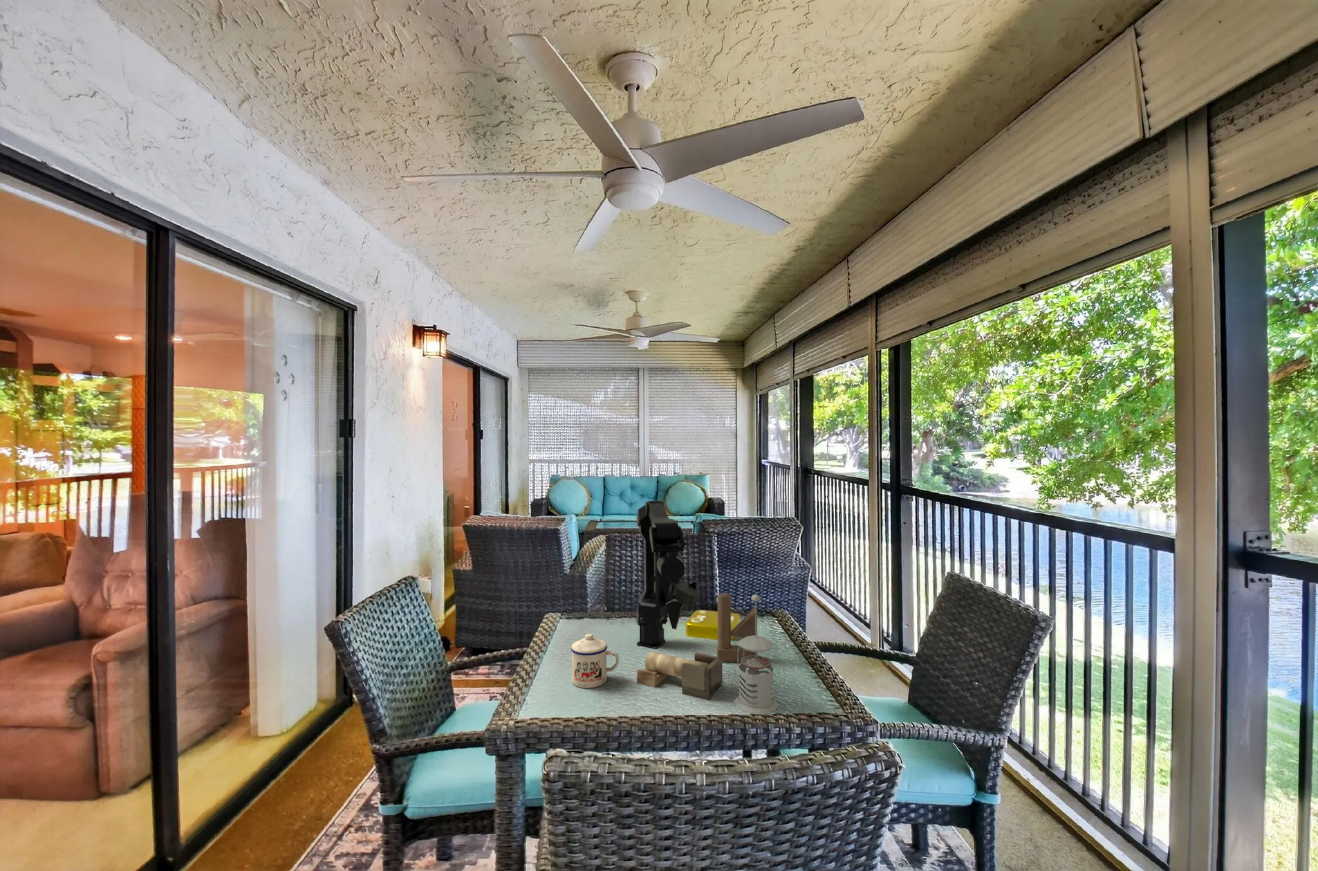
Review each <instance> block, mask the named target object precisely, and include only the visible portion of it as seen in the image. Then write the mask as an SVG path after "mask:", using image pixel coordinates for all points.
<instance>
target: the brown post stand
mask: <svg viewBox="0 0 1318 871" xmlns="http://www.w3.org/2000/svg"><path fill="white" fill-rule="evenodd" d="M731 602H732V596H731V594H729V593H727V592H726V593H725V592H722V593H719V594H717V612H718V640H717V646H716V656H717V657H722V663H738V661H737V652H738V648H739V645H737V644H732V640H731V636H735V637H742V639H743V638H745V637H747V636H753V635H755V607H754V608H753V609H752V610H751V611H750V612H749V613H747V615H746V616H745V617H744V618H742V620H740V623H739V624H738V625H737V626H736V627H735V628H734V629H733V630H732V631H731V613H732V608H731V607H732V604H731ZM756 636H758V611H757V609H756ZM743 650H744V649H743V648H741V647H740V648H739V652H738V660H739V663H741V662H740V659H742V658H743ZM750 655H752V656H753V655H755V652H752V651H748V650H747V651H745V650H744V657H745V656H750ZM756 656H758V652H756Z"/></svg>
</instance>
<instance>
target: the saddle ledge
mask: <svg viewBox="0 0 1318 871" xmlns="http://www.w3.org/2000/svg"><path fill="white" fill-rule="evenodd" d="M636 672H637V673H636V674H637V675H636V684H638V685H639V684H640V685H643V686H648V687H652V688H655V687H657V686H658V685H659V684H660V683H662V682H663V681H664V680H665V679H667V677H669V676H670V675H668V674H663V673H659V672H654V671H650V670H647V669H646V668H645V669H643V668H638V669H637V671H636Z"/></svg>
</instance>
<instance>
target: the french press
mask: <svg viewBox="0 0 1318 871" xmlns="http://www.w3.org/2000/svg"><path fill="white" fill-rule="evenodd" d="M750 597H751V601H754V605H755V606H754V608H755V635H753V636H747V637H745V638H743V637H742V638H741V639H740V640H738V643H737V644H738V646H739V648H740V647H741V648H743V649H744V650H745V651H747V650H748V651H752V652H755V655H753V656H752V655H750V656H745V657H744V650H743V658H742V659H740V662H739V660H738V652H739V648H738V652H737V661H738V662H737V664H738V673H739V674H738V679H739V681H738V684H739V686H738V687H739V688H738V690H739V691H738V696H737V697H736V699H735V700H734V704H735V706H736V707H737V708H738V709H739V710H742V712H745V713H749V714H757V715H761V714H763V715H764V714H769V713H772V712H775V711H776V709H778V706H779V703H778V702H777V701H776V700H775V698H774V683H773V682H774V667H773V666H772V663H773V662H772V660H771V659H770V658H768V657H766V656H762V655H758V654H757V656H756V652H757V653H765V652H768V651H771V650H772V649H774V647H775V645H774V644H775V643H773V642H772V641H771V640H770V639H768V638H766V637H763V636H761V635H757V636H756V610H757V602H758V601H760V600H761V599H760V596H759V595H758V594H753V595H752V596H750ZM766 669H768V670H769V671H768V670H766Z"/></svg>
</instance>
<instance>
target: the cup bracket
mask: <svg viewBox="0 0 1318 871" xmlns="http://www.w3.org/2000/svg"><path fill="white" fill-rule="evenodd" d="M693 655H694V656H693V658H694V661H699V662H703V663H708V664H709V665H708V666H707V667H702V666H698V665H693V664H688V663H683V664H682V678H681V694H682V695H685V696H689V697H695V698H697V699H698V698H699V699H702V700H707V701H710V700H711V699H712V698H713V696H715V695H716V693H717V692H719V690H720V689H721V688H722V687H723V686H724V685H723V680H724V679H723V662H722V657H717V655H710V654H707V653H706V654H705V653H701V652H695V653H694V654H693Z"/></svg>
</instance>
